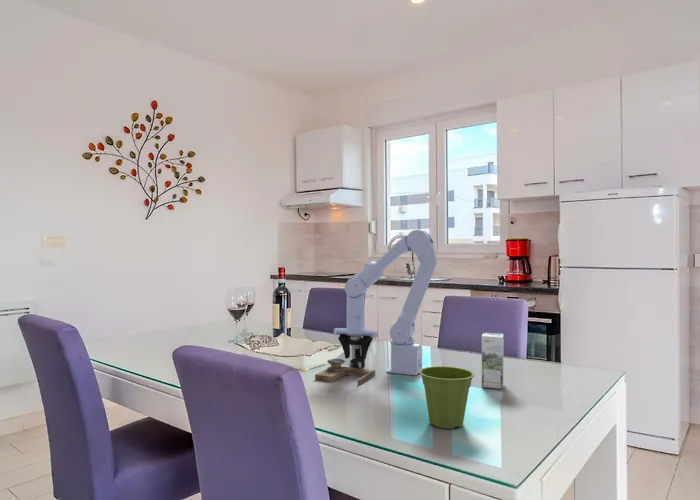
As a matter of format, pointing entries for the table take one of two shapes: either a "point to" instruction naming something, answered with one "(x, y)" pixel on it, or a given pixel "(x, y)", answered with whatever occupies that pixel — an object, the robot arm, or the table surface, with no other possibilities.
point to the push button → (356, 352)
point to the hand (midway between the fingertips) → (355, 358)
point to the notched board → (343, 372)
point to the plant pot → (446, 394)
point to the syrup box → (492, 360)
